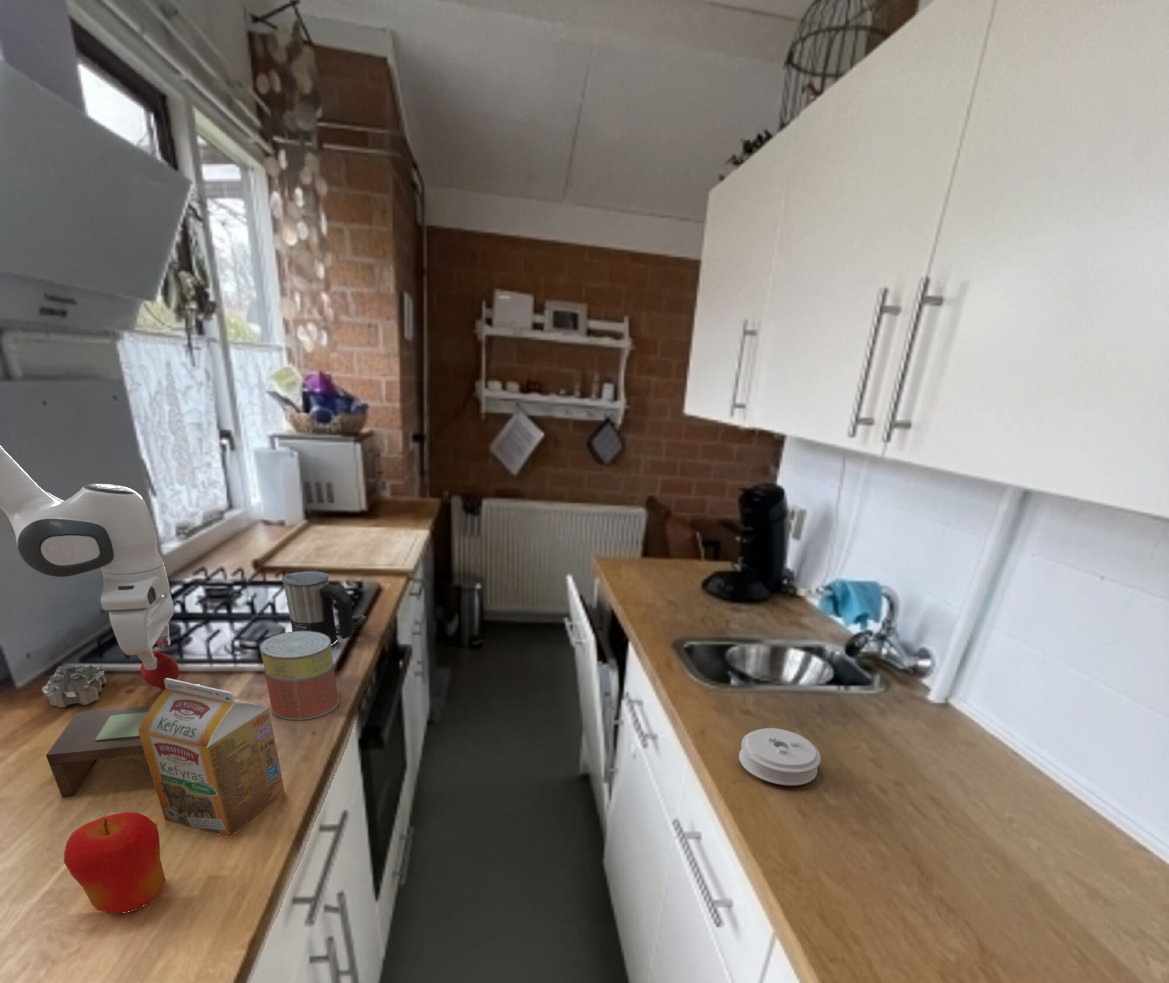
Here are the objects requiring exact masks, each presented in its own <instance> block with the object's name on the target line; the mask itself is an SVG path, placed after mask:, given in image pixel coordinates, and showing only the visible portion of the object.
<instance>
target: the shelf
mask: <svg viewBox="0 0 1169 983" xmlns="http://www.w3.org/2000/svg"><path fill="white" fill-rule="evenodd" d="M196 684H197V685H201V683H196ZM151 707H152V705H143V706H142V705H141V706H131V707H130V706H129V707H120V708H108V709H98V710H97V709H96V710H86V711H85V710H84V711H76V713H75V714H74V715H73V717H72V718H71V720H70V721H69V722H68V724H67V725H66V726H65V727H64V729H63V731H62V732H61V734H60V735H59V736H58V738H56V740H55V742H54V743H53V744H52V746H51V747H50V748H49V750H48V752H46V754H45V757H46V759H47V762H48V765H49V768H50V770H51V773H52V775H53V777H54V780H55V783H56V785H57V788H58V790H59V793H60V796H61V797H62V798H64V797H74V796H75V795H76V794H77V792H78V790H79V788H80V787H81V785H82V784H83V782H84V780H85V778H86V777H87V776H88V773H89V772H90V771H91V768H92V767H93V765H94V763H95V762H96V760H102V759H110V758H111V759H112V758H121V757H128V756H129V757H130V756H139V755H145V752H144V749H143V746H142V743H141V739H140V736H139V733H138V729H139V727H140V725H141V723H142V721H143V719H144V717H145V716H146V714H147V713H148V711H149V710H150V708H151Z"/></svg>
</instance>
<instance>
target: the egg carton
mask: <svg viewBox="0 0 1169 983" xmlns="http://www.w3.org/2000/svg"><path fill="white" fill-rule="evenodd" d="M105 672H106V669H105V666H104V665H101V664H100V665H99V666H98V667H94V666H93V665H91V664H89V665H87V666H86V665H73V666H64V665H58V666H57V668H56V670H55V672H54V673H53V675H51V676H50V677H49V680H47V682H46V684H45V685H44V686H42V687H41V691H42V693H43V694H44V696H45V697H47V698H48V700H49V704H50V706H54V707H57V708H59V709H60V708H61V709H62V708H66V707H67V706H69V705H74V704H81V706H86V705H90V704H91V703H93V702H96V701H98V700H99V699H100V697H99V693H102V692H103V688H102V686H103V685H106V684H107V680H106V677H105Z"/></svg>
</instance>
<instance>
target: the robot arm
mask: <svg viewBox="0 0 1169 983" xmlns="http://www.w3.org/2000/svg"><path fill="white" fill-rule="evenodd" d="M0 510H2V512H3V513H4V514H5V516H6V518H7V519H8V522H9V524H10V528H11V531H12V533H13V535H14V538H15V542H16V546H17V549H18V552H19V555H20V557H21V558H22V560H23V561H24V562H25V563H26V564H27V565H28V566H29V567H31V568H32V569H33V570H35V571H37V572H39V573H41V574H43V575H45V576H50V577H56V578H64V577H70V576H76V575H80V574H84V573H87V572H91V571H95V570H97V569H100V571H101V574H102V577H103V579H102V580H103V581H102V582H103V589H102V593H101V596H100V604H101V607H102V610H104V611H109V613H108V615H109V617H108V618H109V622H110V626H111V628H112V631H113V634H114V637H115V639H116V641H117V643H118V646H119V649H120V650H121V651H122V652H123V654H125V655H126V656H137V657H138V658H139V660H140V661H141V663H143V665H144V668H145V669H146V670H154V669H156V667H157V665H158V662H157V658H156V657H154V655H153V653H152V651H153V649H154V648H153V647H154V646H155V644H157V647H158V648H160V649H165V648H166V649H167V648H169V647H170V645H171V643H172V640H171V637H170V624H169V622H170V620H171V619H172V617H173V616H174V614H175V605H174V601H173V598H172V595H171V591H170V590H171V586H170V583H169V578H168V575H167V571H166V567H165V563H164V560H163V558H162V557H161V555H160V553H159V551H158V544H157V543H158V537H157V532H156V529H155V525H154V522H153V519H152V516H151V513H150V510H149V508H148V506H147V504H146V502H145V499H144V498H143V496H142V495H140V494H139V493H138V492H137V491H135V490H134V489H132V488H129V487H127V486H123V485H119V484H114V483H113V484H112V483H88V484H85V485H83V486H82V487H81V489H79V491H77V492H76V493H75V494H73V495H72V496H70V497H69V498H67V499H66V500H63V499H61V498H59V497H56V496H55V495H53V494H51V493H50V492H48V491H46V490H45V489H43V487H41V486H40V485H39V484H38V483H37V482H36V481H35V480H34V479H33V478H32V477H31V476H30V475H29V474H28V473H27V472H26V471H25V469H23V467H21V465H20V464H18V462H17V461H16V460H15V459H14V458H13V457H12V456H11V455H10V454H9V453H8V452H7V451H6V449H4V448H3V447H2V446H1V445H0Z"/></svg>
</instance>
